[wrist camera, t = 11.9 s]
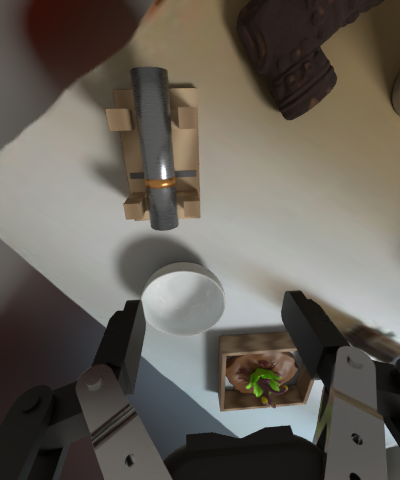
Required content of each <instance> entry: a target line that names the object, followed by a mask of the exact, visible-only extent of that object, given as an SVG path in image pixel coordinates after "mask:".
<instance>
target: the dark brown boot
mask: <svg viewBox="0 0 400 480" xmlns="http://www.w3.org/2000/svg"><path fill="white" fill-rule="evenodd" d="M383 1H384V0H251V1H250V2H249V3H248V4H247V5H246V6H245V7H244V8H243V9H242V10H241V11H240V14H239V17H238V20H237V32H238V34H239V36H240V38H241V40H242V42H243V44H244V47H245V49H246V51H247V53H248V55H249V57H250V59H251V62H252V64H253V67H254V69H255V70H256V71H257V72H258V73H260V74H263V75H264V76H265V77H266V79H267V80H268V83H269V88H270V89H271V94H272V96H273V98H275V100H276V106H277V107H279V109H278V110H279V111H280V112H281V113H282V115H283V117H284V118H285V119H286V120H293V119H295V118H297V117H299V116H301V115H302V114H304V113H306V112H307V111H309V110H310V109H311V108H313V107H314V106H315V105H317V104H318V103H319V102H320V101H321V100H322V99H323V98H324V97H325V96H326V95H327V94H328V93H329V92H330V91H331V90H332V89H333V87H334V86H335V84H336V81H337V76H336V74H335V72H334V68H333V66H331V65H330V61H329V60H328V59H327V58H326V56H325V54H324V53H323V51H322V50H321V48H320V46H321V45H322V44H323V43H324V42H325V41H326V40H328V39H329V38H330V37H331V36H332V35H333V34H334V33H335V32H336V31H337V30H338V29H339V28H340V27H344V26H346V25H347V24H350V23H353V22H354V21H355V20H356V19H357V18H358V16H359V14H360V13H363V12H366V11H368V10H369V9H371V8H372V7H374V6H377V5H379V4H380V3H381V2H383Z"/></svg>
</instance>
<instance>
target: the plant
mask: <svg viewBox="0 0 400 480" xmlns="http://www.w3.org/2000/svg"><path fill="white" fill-rule="evenodd" d="M298 370H299V368H298V366H297V364H296V363H295V359H294V357H293V354H292V353H291V352H276V353H263V354H249V355H236V356H232V357H231V358H230V359H229V360H228V361H226V377H227V378H228V380H229V382H230V383H231V384H232V385H234V389H237V390H239V391H240V392H241V393H251V395H256V397H260V396H261V394H263V393H264V394H265V396H266V397H263V396H262V399H261V400H262V402H263V403H264V404H265V405H266V406H267V407H269V406H270V403H271V406H272V407H273V408H276V404H275V403H274V402H272V400H271V398H270V395H269V394H271V392H273V393H275V394H282V393H284V392H286V391H287V390H288V387H287V385H283V387H282V391H279V388H278V387H280V386H281V385H282V384H284V383H285V382H287V381H289V380H290V379H291V378H292V377H293V376H294V375H295V374H296V372H297V371H298Z"/></svg>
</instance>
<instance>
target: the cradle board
mask: <svg viewBox="0 0 400 480" xmlns="http://www.w3.org/2000/svg"><path fill="white" fill-rule="evenodd" d="M113 94H114V100H115V106H116V109H106V115H107V120H108V125H109V131H120V136H121V142H122V148H123V153H124V159H125V165H126V171H127V177H128V183H129V189H130V196H129V198H128V199H127V200H126V201H125V203H124V204H123V206H124V211H125V216H126V219H135V221H140V220H150V216H149V208H148V201H147V193H146V187H145V181H144V171H143V164H142V156H141V149H140V141H139V134H138V126H137V119H136V112H135V104H134V97H133V89H117V90H113ZM169 100H170V114H171V127H172V141H173V155H174V169H175V178H176V196H177V210H178V219H184V218H200V183H199V141H198V99H197V88H173V89H169Z"/></svg>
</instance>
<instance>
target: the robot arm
mask: <svg viewBox="0 0 400 480" xmlns="http://www.w3.org/2000/svg"><path fill="white" fill-rule="evenodd" d="M392 102H393V107H394V109H395V111H396V112H397V113H398V115H400V74H399V75H398V77H397V80H396V82H395V85H394V88H393V93H392ZM281 316H282V321H283V323H284V325H285V327H286V329H287V331H288V333H289V335H290V337H291V339H292V341H293V343H294V345H295V347H296V349H297V351H298V353H299V355H300V357H301V359H302V361H303V363H304V365H305V367H306V369H307V371H308V373H309V375H310V377H311V378H312V380H322V382H323V384H324V387H323V391H322V397H321V403H320V409H319V415H318V421H317V427H316V431H315V434H314V438H313V442H310V441H308V440H306V439H304V438H302V437H300V436H297V435H293V432H292V430H291V427H290V425H289V426H277V427H266V428H263V429H261V430H259V431H256V432H254V433H252V434H250V435H248V436H246V437H243V438H234V437H230V436H226V435H221V434H217V433H213V432H211V433H200V434H189V435H186V444H184V445H182V446H180V447H179V448H177V449H175V450H174V451H173V452H172V453H170V454H169V455H168V456H167V457H166V458H165V459H164V461H162V459H161V457H160V455H159V453H158V452H157V450H156V448H155V446H154V444H153V442H152V440H151V439H150V437H149V435H148V433H147V431H146V429H145V428H144V425H143V424H142V422H141V420H140V418H139V416H138V414H137V412H136V411H135V409H134V408H133V407H131V405H130V403H129V401H128V399H127V398H126V394H133V393H134V388H135V382H136V377H137V372H138V367H139V361H140V356H141V351H142V346H143V341H144V335H145V329H146V321H145V315H144V309H143V304H142V300H127V301H126V304H125V307H124V310H123V311H116V312H115V314H114V315H113V316H112V317H111V318H110V320H109V322H108V325H107V329H106V330H105V333H104V336H103V338H102V341H101V343H100V346H99V348H98V351H97V354H96V356H95V359H94V361H93V364H92V366H91V367H90V368H89V369H87V370H86V371H85V372H84V373H83V374H82V375H81V376H80V378H79V379H78V380H77V381H75V382H73V383H71V384H68V385H66V386H63V387H61V388H58V389H56V390H53V391H52V390H51V388H50V387H49V386H46V385H39V386H35V387H33V388H31V389H29V390H27V391H26V392H24V393H23V394H22V395H21V396H19V397H18V399H17V400H16V401H15V402H14V403H13V405H12V406H11V408H10V410H9V411H8V413H7V415H6V417H5V419H4V420H3V422H2V424H1V426H0V480H59V477H60V474H61V471H62V468H63V464H64V461H65V458H66V455H67V452H68V448H69V445H70V443H72V442H74V441H77V440H79V439H81V438H83V437H85V436H88V435H90V434H91V437H92V443H93V447H94V450H95V453H96V456H97V459H98V462H99V465H100V468H101V470H102V473H103V476H104V479H105V480H387V465H386V448H385V430H384V423H385V425H386V426H387V428H388V429H389V431H390V433H391V434H392V436H393V437H394V439H395V441H396V442H397V444H398V445H399V447H400V359H399V360H398V361H397V362H396V364H395V365H392V364H387V363H383V362H378V361H374V360H371V358H370V357H369V356H368V355H367V354H365V353H364V352H363V351H361V350H359V349H357V348H354V347H351V346H350V345H349V343H348V342H347V341H346V339H345V338H344V337H343V335H342V334H341V333H340V332H339V330H338V329H337V328H336V326H335V325H334V324H333V322H332V321H331V320H330V318H329V317H328V316H327V315H326V313H325V312H324V310H323V309H322V308H321V307H320V305H318V304H317V303H316V302H314V301H313V300H312V299H307V298H306V297H305V296H304V294H303V293H302V292H301V291H300V290H297V291H286V292H285V295H284V300H283V305H282V310H281Z"/></svg>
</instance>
